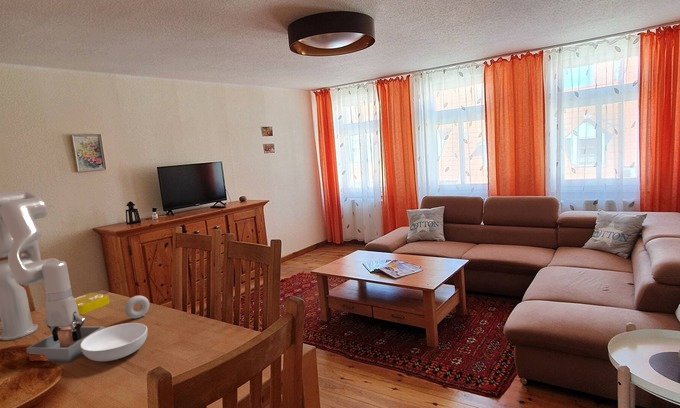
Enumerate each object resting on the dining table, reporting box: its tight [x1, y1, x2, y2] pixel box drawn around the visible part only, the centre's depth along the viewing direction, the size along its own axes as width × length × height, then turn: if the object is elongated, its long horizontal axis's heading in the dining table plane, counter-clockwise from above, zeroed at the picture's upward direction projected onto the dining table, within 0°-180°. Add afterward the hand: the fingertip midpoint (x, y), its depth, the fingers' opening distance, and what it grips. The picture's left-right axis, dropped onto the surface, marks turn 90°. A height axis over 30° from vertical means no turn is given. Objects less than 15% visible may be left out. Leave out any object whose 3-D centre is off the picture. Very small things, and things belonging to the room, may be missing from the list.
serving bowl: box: [80, 322, 148, 362], centre depth 139 cm, size 21×21×7 cm
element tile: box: [74, 292, 110, 316], centre depth 188 cm, size 15×15×5 cm
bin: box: [26, 325, 106, 363], centre depth 145 cm, size 17×17×5 cm
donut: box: [124, 295, 150, 319], centre depth 170 cm, size 10×4×10 cm, turn 136°
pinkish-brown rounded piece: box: [57, 326, 77, 348], centre depth 145 cm, size 5×5×7 cm
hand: (67, 339), depth 145 cm, fingers open, 7 cm apart
